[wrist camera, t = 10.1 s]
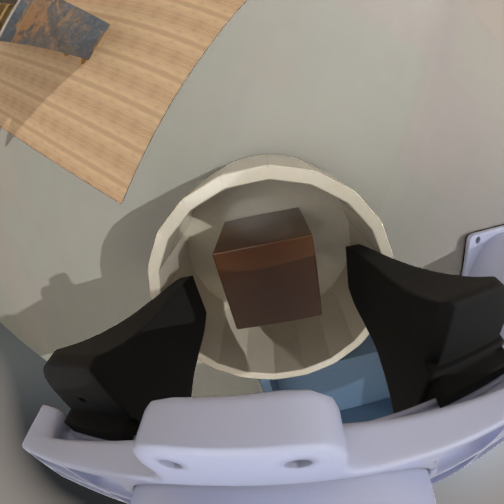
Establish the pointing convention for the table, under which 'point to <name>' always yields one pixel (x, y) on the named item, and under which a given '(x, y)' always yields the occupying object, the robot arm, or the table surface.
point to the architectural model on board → (99, 76)
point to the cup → (326, 251)
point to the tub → (347, 384)
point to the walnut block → (268, 268)
